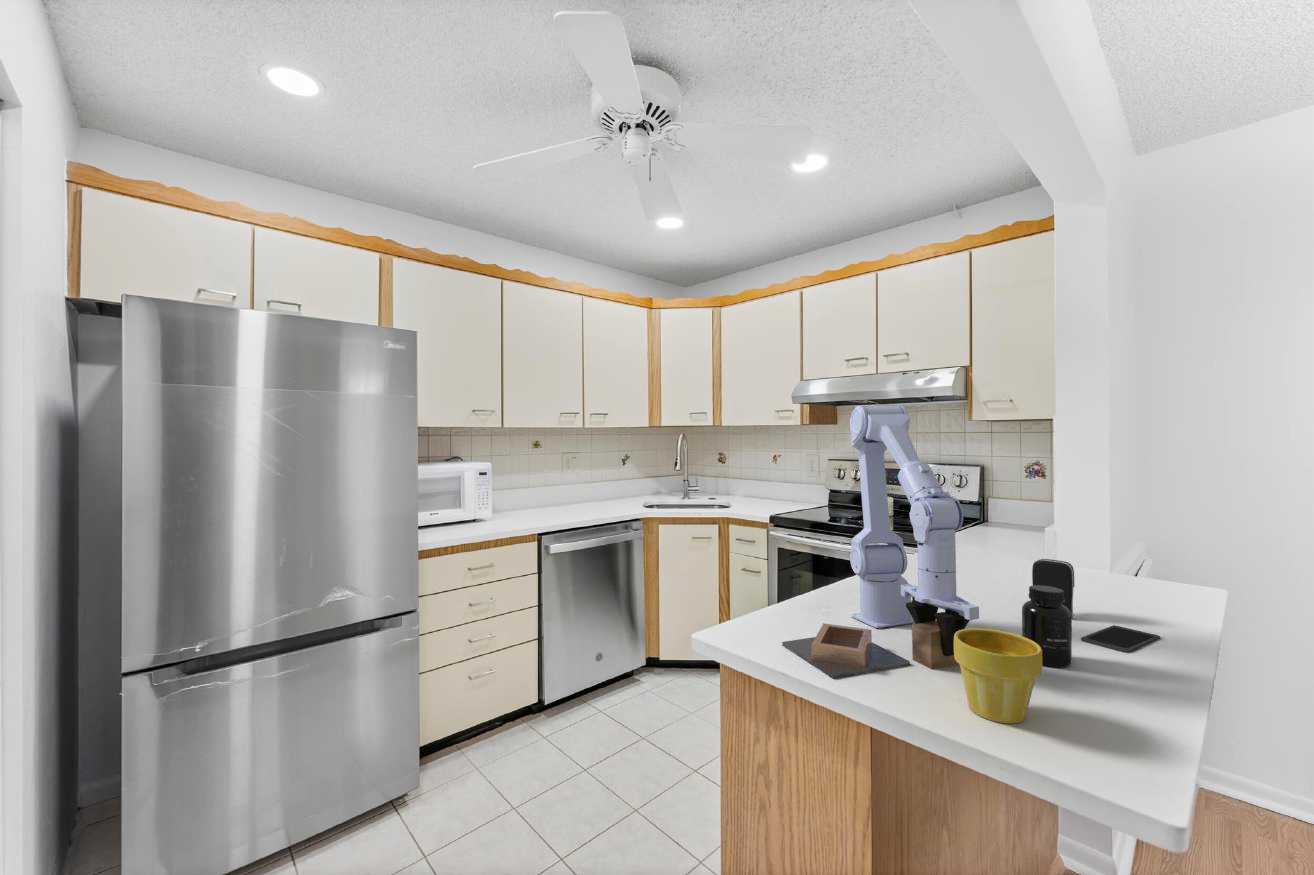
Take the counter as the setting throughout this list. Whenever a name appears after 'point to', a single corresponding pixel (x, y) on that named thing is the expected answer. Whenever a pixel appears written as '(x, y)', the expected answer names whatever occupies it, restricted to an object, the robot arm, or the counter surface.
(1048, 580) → the battery charger
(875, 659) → the duct collar
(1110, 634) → the cell phone
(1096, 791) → the counter surface
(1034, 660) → the plant pot
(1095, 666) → the counter surface
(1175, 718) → the counter surface
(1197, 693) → the counter surface
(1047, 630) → the supplement bottle
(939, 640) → the block
